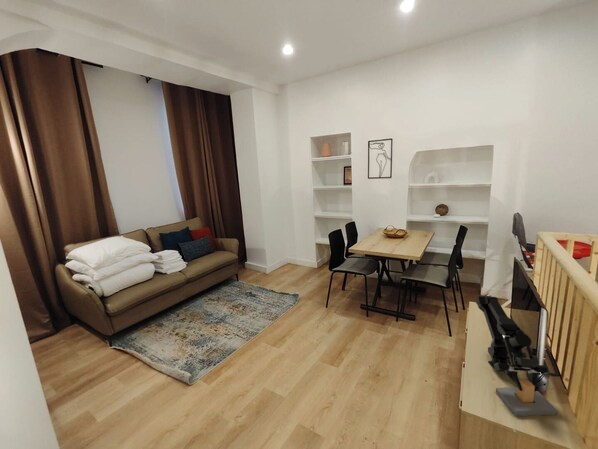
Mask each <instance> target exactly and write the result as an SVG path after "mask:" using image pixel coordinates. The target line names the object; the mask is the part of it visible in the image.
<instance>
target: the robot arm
mask: <svg viewBox="0 0 598 449" xmlns="http://www.w3.org/2000/svg"><path fill="white" fill-rule="evenodd" d="M474 301H475V304H476V305H477V308H478V309H479V310H480V311H482V313H483V315H484V317H485V320H486V323H487V327H488V330H489V332H490V335H491V339H492V340H491V342H490V346H488V347H487V353H488V355H489V356H490V357H491V359H490V360H488V364H489V365H490V366H491V367H492V368H493V369H494V371H495V372H504V371H505V372H504V374H505V375H507V376H508V377H509V378H510V380H512V382H513V383H514V384H515V387H518V389H519V390H520V391H522V388H521V385H520V382H519V379H520V378H519V377H518V371H521V372H523V371H524V372H527V373H526V377H527V379H528V380H529V381H530V382H531V383H532V384H533V385H534V386H535V389H536V385H537V384H536V383H537V378H538V376H539V375H545V374H549V373H551V372H550V369H549V367H548V366H546V365H543V364H542V365H541V364H540V362H539V359H538V356H537V355H532V354H531V355H529V356H527V354H526V352H524V350H523V349H525V348H528V347H530V346H531V345H532V339H531V338H530V336H528V334H526V333H525V332H524V331H523V329H521V328H520V326H519V325H518V324H517V323H516V322H515V320H514V319H512V318H510V317H509V316H508V315H507V313H506V312H505V310H504V308H503V306H502V305H501V303H500V302H499V299H498V297H497V296H491V295H477V296H476V297H475V300H474ZM503 335H504V336H505V338H503ZM508 360H510V364H508ZM539 364H540V365H539ZM538 372H541V374H540V373H538ZM535 389H534V392H535Z"/></svg>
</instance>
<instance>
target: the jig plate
mask: <svg viewBox="0 0 598 449" xmlns="http://www.w3.org/2000/svg"><path fill="white" fill-rule="evenodd" d="M516 392H517V386H508V387H496V388H495V394H496V395H497V396H498V397H499V399H500V400H501V401H502V402H503V403H504V404H505V405H506V406H507V408H508V409H509V410H510V411H511V413H512V412H513V413H512V414H513V415H514V416H515V417H521V416H522V417H523V416H524V417H525V416H527V417H529V416H545V415H546V416H549V415H550V416H553V415H557V410H558V409H557V408H556V407H555V406H554V405H553V404H552V403H551V402H550V401H549V400H547V398H546V397H545V396H543V394H541V393H540V392H539V391H538V390H537V391H535V392H534V399H533V403H522V402H521V400H520V399H519V398H518V397H517V396H516ZM528 415H529V416H528Z"/></svg>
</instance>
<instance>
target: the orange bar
mask: <svg viewBox="0 0 598 449" xmlns="http://www.w3.org/2000/svg"><path fill="white" fill-rule="evenodd" d="M518 379H519V382H520V385H521V388H522V391H520V390H519V389H518V387H517V386H516V387H517V392H516V396H517V397H518V398H519V399H520V400H521V402H522V403H533V399H534V389H536V388H535V386H534V385H533V384H532V383H531V382H530V381H529V380H528V378H524V379H522V378H521V379H520V378H518Z"/></svg>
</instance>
